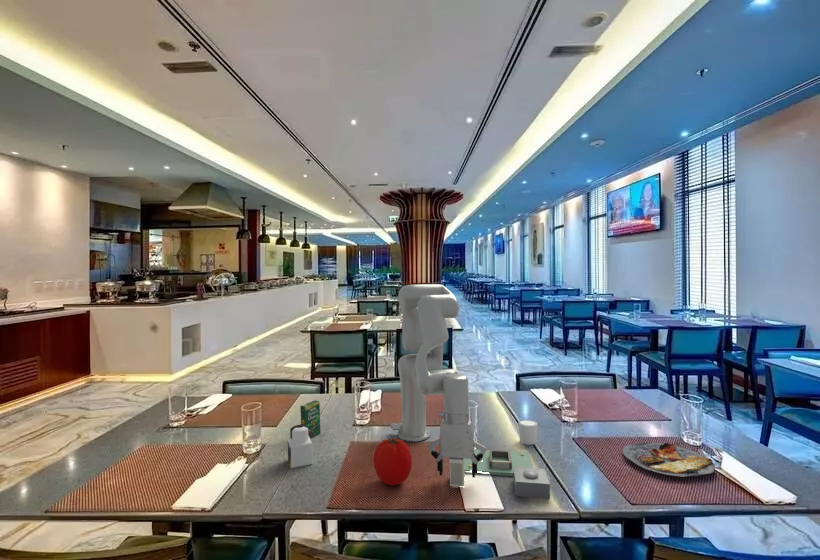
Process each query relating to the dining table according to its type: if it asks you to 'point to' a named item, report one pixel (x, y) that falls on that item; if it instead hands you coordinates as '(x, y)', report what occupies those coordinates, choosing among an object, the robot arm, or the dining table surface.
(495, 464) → the socket
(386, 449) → the tomato
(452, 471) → the plug
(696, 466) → the food plate
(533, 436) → the gray cup
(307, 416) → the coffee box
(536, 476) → the grey push button box
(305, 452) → the medicine bottle
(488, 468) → the board
